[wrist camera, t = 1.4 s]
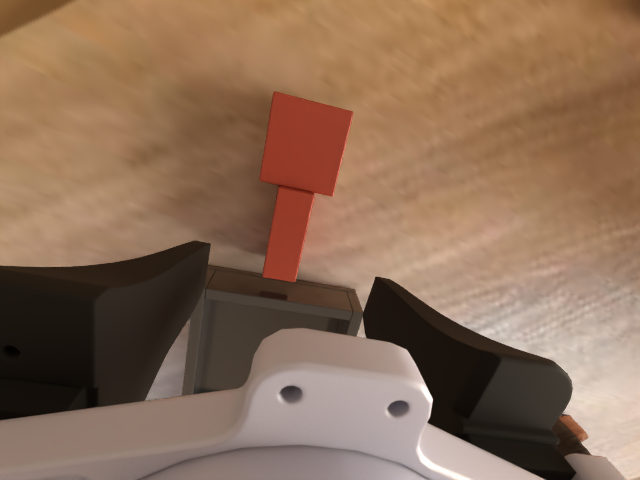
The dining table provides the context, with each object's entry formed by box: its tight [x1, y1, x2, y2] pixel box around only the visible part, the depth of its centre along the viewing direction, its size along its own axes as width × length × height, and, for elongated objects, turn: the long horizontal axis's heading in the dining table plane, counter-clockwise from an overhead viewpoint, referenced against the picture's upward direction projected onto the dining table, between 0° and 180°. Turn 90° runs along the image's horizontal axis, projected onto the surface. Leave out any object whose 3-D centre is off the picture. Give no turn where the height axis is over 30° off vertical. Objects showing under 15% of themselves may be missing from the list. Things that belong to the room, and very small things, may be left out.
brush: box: [259, 92, 353, 282], centre depth 20 cm, size 5×11×3 cm, turn 167°
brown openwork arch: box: [551, 415, 591, 457], centre depth 31 cm, size 12×10×8 cm
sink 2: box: [182, 265, 363, 396], centre depth 24 cm, size 12×15×3 cm
